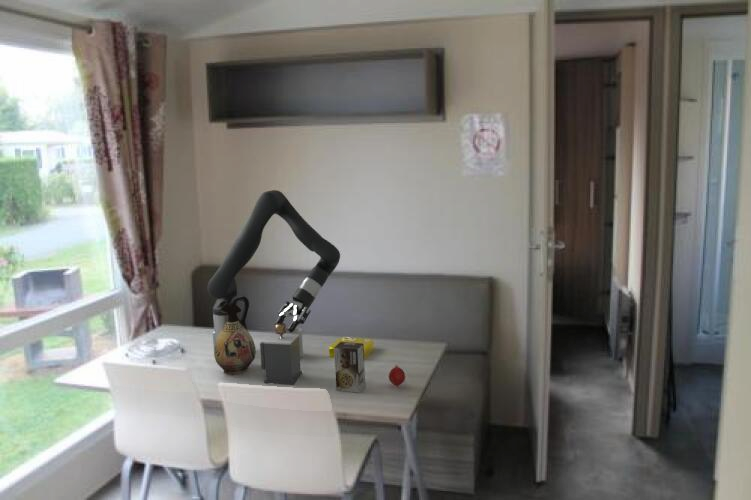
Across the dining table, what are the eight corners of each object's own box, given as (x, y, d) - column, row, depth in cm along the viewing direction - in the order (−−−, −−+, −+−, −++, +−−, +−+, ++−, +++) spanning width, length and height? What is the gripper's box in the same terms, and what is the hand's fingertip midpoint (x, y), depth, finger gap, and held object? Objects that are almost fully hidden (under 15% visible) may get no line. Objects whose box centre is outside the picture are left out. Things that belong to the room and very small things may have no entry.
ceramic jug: (221, 381, 241) (215, 303, 236) (211, 368, 255) (205, 294, 249) (266, 372, 249) (261, 296, 244) (253, 360, 263) (249, 288, 257)
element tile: (327, 357, 265) (327, 346, 264) (342, 346, 279) (341, 335, 278) (362, 361, 260) (361, 349, 259) (375, 349, 273) (374, 338, 272)
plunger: (270, 376, 240) (267, 327, 236) (277, 369, 247) (274, 321, 244) (289, 377, 238) (287, 328, 235) (296, 370, 246) (293, 322, 242)
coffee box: (365, 386, 234) (364, 343, 231) (359, 393, 228) (358, 349, 225) (342, 383, 237) (340, 341, 234) (335, 390, 231) (333, 346, 228)
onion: (388, 383, 235) (387, 362, 234) (404, 382, 236) (403, 361, 234) (389, 390, 230) (389, 368, 228) (406, 389, 230) (405, 367, 229)
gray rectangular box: (257, 382, 240) (255, 342, 237) (268, 371, 250) (265, 332, 247) (293, 384, 237) (290, 343, 234) (302, 373, 247) (300, 333, 245)
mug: (307, 354, 268) (306, 328, 266) (295, 361, 261) (294, 334, 259) (283, 350, 274) (282, 325, 272) (271, 356, 267) (269, 330, 265)
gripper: (290, 283, 249) (265, 319, 243) (312, 290, 238) (287, 327, 233) (302, 294, 253) (278, 330, 248) (324, 301, 242) (300, 338, 237)
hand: (283, 328), depth 240 cm, fingers open, 8 cm apart
